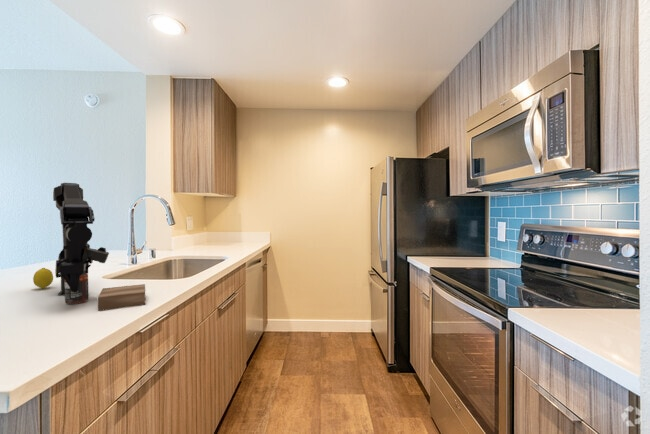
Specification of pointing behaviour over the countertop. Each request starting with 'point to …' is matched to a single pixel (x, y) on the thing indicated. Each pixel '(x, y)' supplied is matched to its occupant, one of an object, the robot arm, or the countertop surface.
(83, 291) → the supplement bottle
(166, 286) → the countertop surface
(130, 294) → the walnut block
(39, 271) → the lemon
